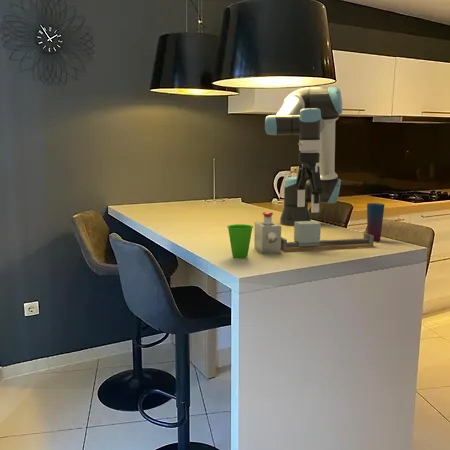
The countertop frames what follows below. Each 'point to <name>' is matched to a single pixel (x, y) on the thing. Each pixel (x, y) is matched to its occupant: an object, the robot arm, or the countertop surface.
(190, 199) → the countertop surface
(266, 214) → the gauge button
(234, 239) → the cup
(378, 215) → the cup
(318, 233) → the carriage
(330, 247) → the rail
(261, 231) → the grey push button box
